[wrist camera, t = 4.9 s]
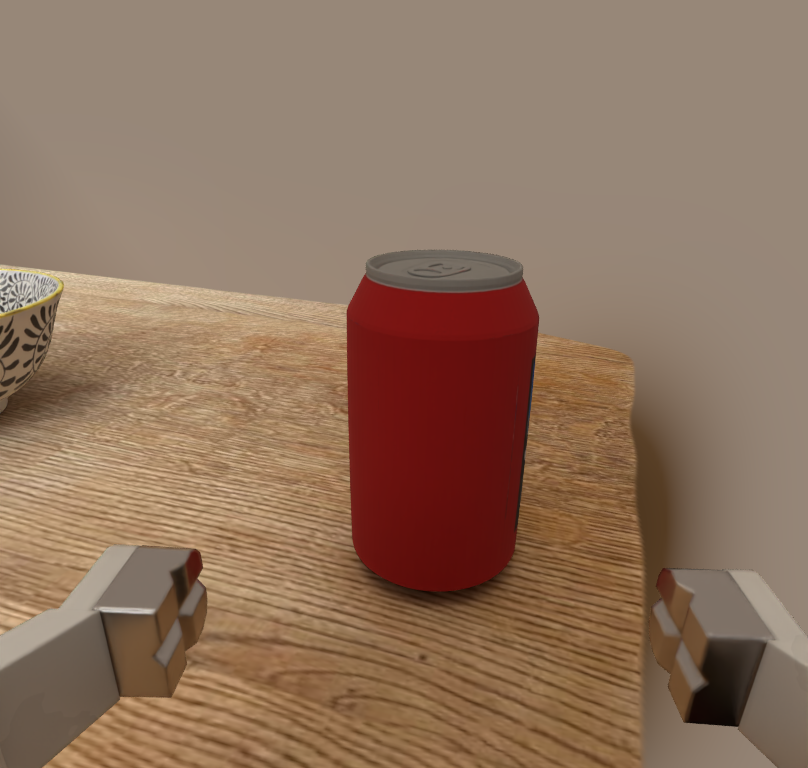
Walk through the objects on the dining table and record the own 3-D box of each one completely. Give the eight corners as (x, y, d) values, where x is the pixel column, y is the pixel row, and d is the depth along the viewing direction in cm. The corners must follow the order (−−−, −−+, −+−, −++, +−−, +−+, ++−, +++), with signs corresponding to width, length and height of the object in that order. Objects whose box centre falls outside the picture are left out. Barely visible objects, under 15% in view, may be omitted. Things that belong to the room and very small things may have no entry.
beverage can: (543, 544, 25) (579, 262, 20) (453, 638, 20) (473, 296, 16) (418, 488, 29) (425, 241, 24) (317, 556, 24) (302, 263, 20)
